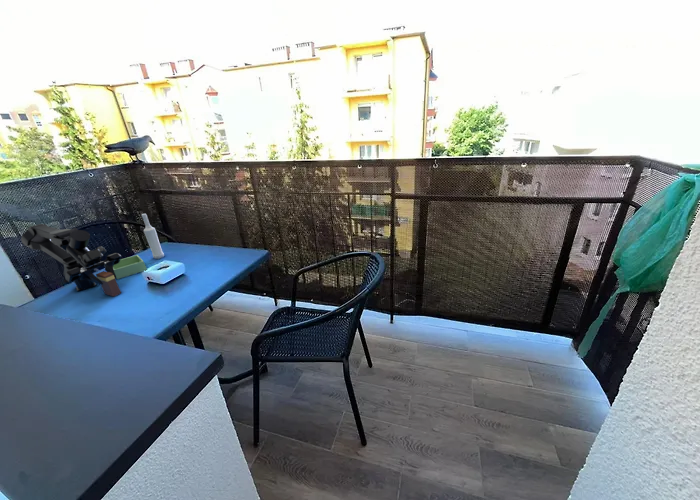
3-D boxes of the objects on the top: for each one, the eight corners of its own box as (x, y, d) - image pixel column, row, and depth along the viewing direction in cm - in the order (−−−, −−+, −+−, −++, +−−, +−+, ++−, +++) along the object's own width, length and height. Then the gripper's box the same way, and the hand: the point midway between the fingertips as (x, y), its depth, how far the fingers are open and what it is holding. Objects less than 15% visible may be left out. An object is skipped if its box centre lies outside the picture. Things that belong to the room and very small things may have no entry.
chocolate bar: (104, 294, 118) (95, 274, 114) (112, 290, 121) (103, 270, 116) (113, 296, 116) (104, 276, 112) (121, 293, 118) (112, 273, 114)
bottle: (160, 258, 150) (145, 215, 140) (151, 259, 150) (135, 215, 140) (166, 254, 155) (151, 212, 144) (157, 255, 155) (142, 212, 145)
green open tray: (112, 271, 138) (108, 262, 136) (140, 263, 146) (137, 254, 144) (117, 279, 130) (113, 270, 128) (147, 269, 138) (143, 261, 136)
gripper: (55, 252, 102) (85, 282, 103) (110, 235, 118) (135, 261, 119) (53, 268, 108) (82, 296, 109) (106, 249, 124) (130, 274, 125)
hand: (109, 281), depth 115 cm, fingers open, 5 cm apart
